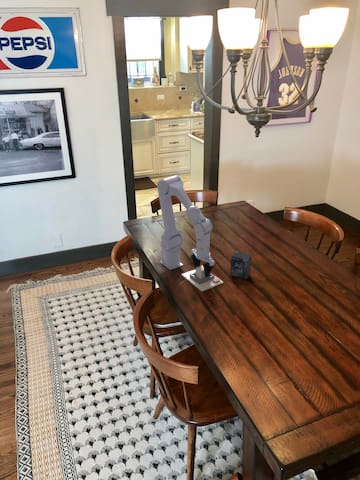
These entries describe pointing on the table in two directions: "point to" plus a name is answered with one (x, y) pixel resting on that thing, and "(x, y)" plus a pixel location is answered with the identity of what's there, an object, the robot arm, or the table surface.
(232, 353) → the table surface
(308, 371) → the table surface
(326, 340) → the table surface
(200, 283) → the socket plate
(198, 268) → the plug
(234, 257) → the box
